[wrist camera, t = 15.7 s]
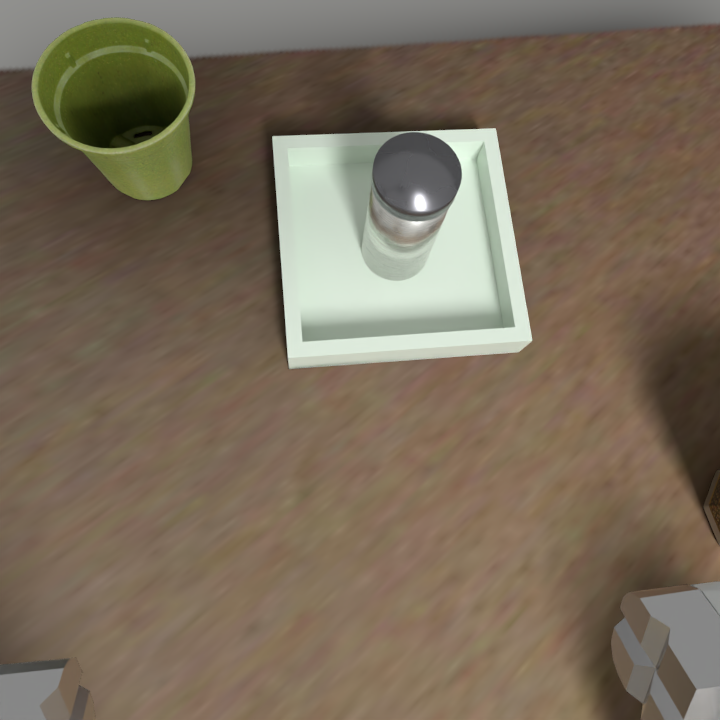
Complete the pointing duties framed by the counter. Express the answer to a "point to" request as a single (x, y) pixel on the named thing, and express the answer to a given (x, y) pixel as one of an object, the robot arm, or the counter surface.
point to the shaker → (408, 203)
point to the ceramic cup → (714, 505)
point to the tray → (386, 297)
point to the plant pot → (120, 102)
